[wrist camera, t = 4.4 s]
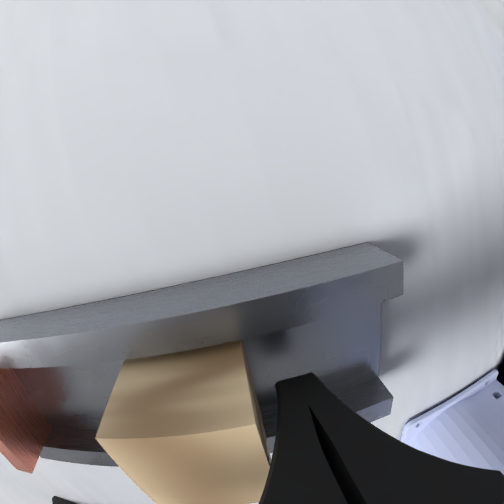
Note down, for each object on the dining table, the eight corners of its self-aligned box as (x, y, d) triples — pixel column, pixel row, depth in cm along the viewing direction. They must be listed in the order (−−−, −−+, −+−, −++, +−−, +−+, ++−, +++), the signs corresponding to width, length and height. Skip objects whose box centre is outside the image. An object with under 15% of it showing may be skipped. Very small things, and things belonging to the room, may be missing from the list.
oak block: (237, 325, 10) (255, 424, 5) (260, 410, 11) (280, 497, 7) (130, 345, 10) (95, 438, 5) (170, 424, 11) (162, 509, 6)
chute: (367, 242, 11) (442, 282, 6) (368, 382, 13) (410, 443, 9) (-11, 322, 10) (-60, 367, 5) (54, 428, 12) (31, 482, 7)
